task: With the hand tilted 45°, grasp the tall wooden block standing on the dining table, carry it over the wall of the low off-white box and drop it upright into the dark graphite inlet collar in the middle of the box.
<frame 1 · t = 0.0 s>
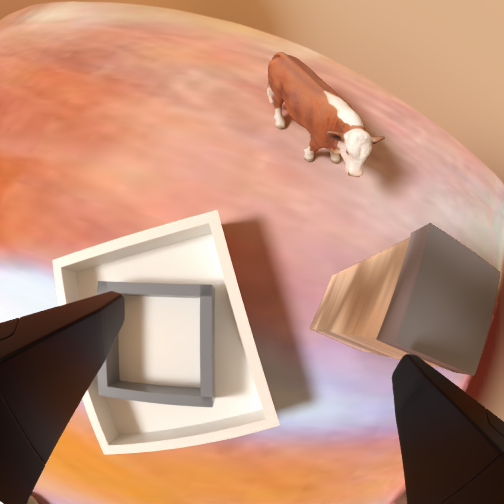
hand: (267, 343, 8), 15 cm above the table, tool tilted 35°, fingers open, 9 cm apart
pipe fitting: (14, 489, 17), on the table
wooden block: (346, 313, 23), on the table
walled box: (162, 340, 22), on the table
bull figurine: (306, 143, 27), on the table
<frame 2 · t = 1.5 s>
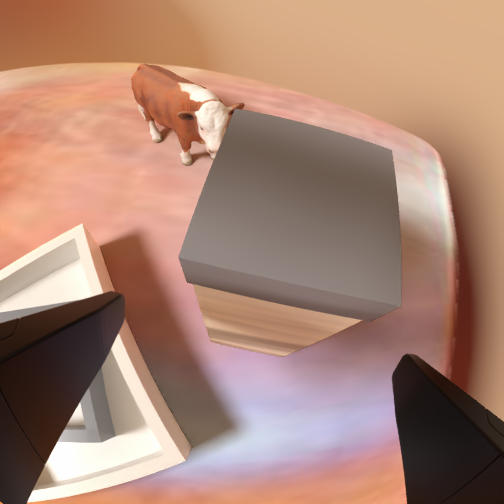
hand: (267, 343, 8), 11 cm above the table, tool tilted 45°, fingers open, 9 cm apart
wooden block: (253, 315, 20), on the table
walled box: (57, 377, 16), on the table
bull figurine: (185, 149, 26), on the table
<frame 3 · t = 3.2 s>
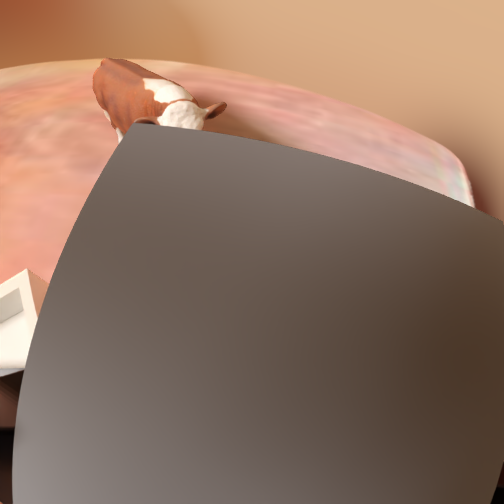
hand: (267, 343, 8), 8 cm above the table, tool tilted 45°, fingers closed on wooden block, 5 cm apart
wooden block: (241, 384, 15), on the table, touching gripper
walled box: (22, 437, 11), on the table
bull figurine: (160, 162, 20), on the table
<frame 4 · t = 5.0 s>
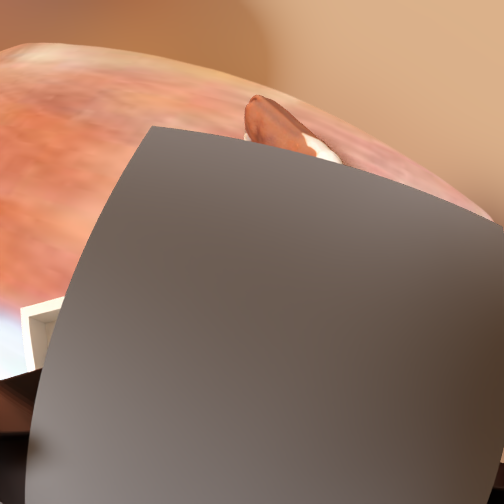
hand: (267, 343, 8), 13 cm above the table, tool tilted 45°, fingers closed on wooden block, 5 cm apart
wooden block: (244, 385, 15), point 6 cm above the table, touching gripper
walled box: (134, 401, 18), on the table
bull figurine: (285, 191, 27), on the table
when the fingers open (9 cm above the table, at t = 7.0 s): wooden block stays where it is, resting on walled box.
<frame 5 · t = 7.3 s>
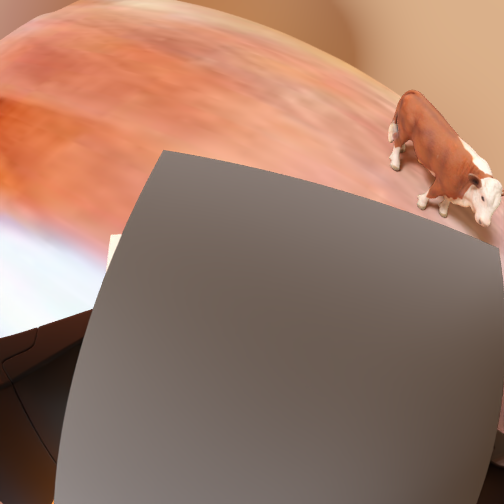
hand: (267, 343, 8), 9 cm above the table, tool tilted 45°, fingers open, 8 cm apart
wooden block: (243, 385, 15), point 1 cm above the table, touching walled box
bull figurine: (417, 191, 24), on the table
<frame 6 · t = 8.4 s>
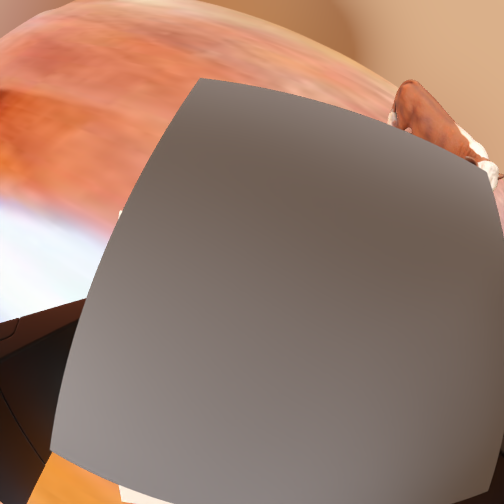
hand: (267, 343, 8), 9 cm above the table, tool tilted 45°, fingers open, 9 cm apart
wooden block: (249, 359, 15), point 1 cm above the table, touching walled box
walled box: (246, 358, 16), on the table
bull figurine: (417, 177, 24), on the table
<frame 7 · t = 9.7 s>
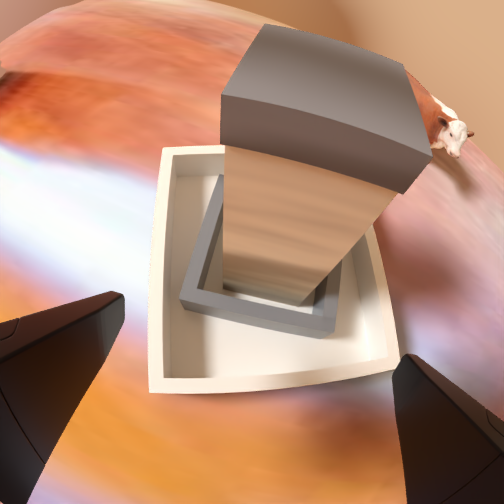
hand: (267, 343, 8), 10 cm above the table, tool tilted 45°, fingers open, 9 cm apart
wooden block: (267, 263, 19), point 1 cm above the table, touching walled box
walled box: (264, 267, 20), on the table
bull figurine: (402, 143, 28), on the table
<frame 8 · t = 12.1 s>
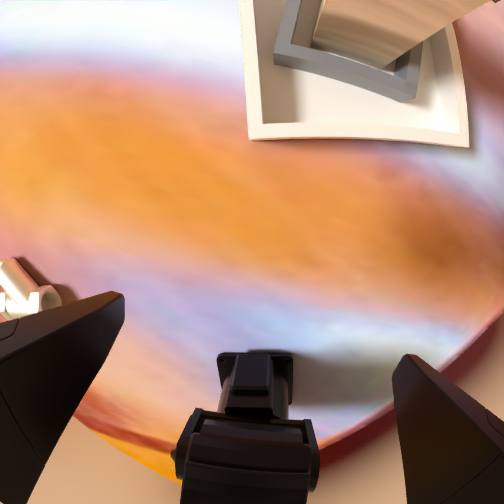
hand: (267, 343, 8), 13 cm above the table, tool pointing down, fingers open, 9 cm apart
pipe fitting: (34, 281, 25), on the table
wooden block: (351, 29, 14), point 1 cm above the table, touching walled box
walled box: (347, 33, 15), on the table
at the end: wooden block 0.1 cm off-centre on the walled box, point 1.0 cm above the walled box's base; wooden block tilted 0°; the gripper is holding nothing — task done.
